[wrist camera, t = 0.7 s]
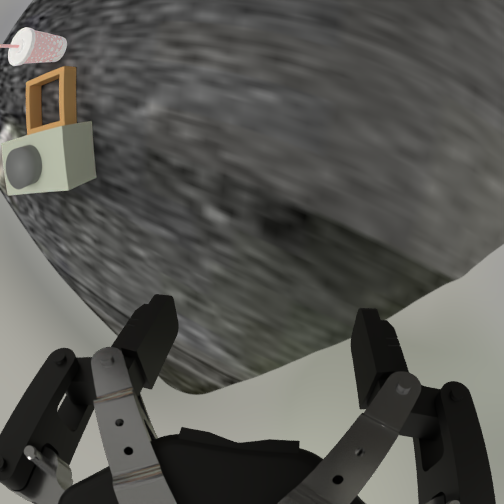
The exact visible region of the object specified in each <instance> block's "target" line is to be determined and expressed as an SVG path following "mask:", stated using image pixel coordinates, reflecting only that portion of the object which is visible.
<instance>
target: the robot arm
mask: <svg viewBox="0 0 504 504" xmlns="http://www.w3.org/2000/svg"><path fill="white" fill-rule="evenodd" d="M177 333H178V319H177V314H176V309H175V303H174V299H173V297H172V296H169V295H159V294H155V295H154V296H153V298H152V299H151V301H150V302H149V304H144V305H142V306H141V307H139V308H138V309H137V310H135V312H134V313H133V315H132V316H131V319H129V321H128V322H127V324H126V326H125V327H124V328H123V330H122V331H121V332H120V334H119V335H118V337H117V339H116V340H115V341H114V343H113V345H112V346H111V347H106V348H102V349H100V350H98V351H97V352H96V353H95V354H94V355H93V357H84V358H76V356H75V354H74V352H73V351H72V350H70V349H68V348H60V349H58V350H55V351H54V352H52V353H51V354H50V355H49V357H48V358H47V360H46V361H45V363H44V364H43V366H42V367H41V368H40V370H39V372H38V373H37V375H36V376H35V378H34V379H33V381H32V382H31V384H30V385H29V387H28V388H27V390H26V392H25V393H24V395H23V397H22V398H21V400H20V401H19V403H18V405H17V406H16V408H15V410H14V411H13V413H12V415H11V416H10V418H9V420H8V422H7V423H6V425H5V427H4V429H3V431H2V433H1V434H0V482H1V483H2V484H3V485H5V486H6V487H7V488H8V489H10V490H11V491H13V492H14V493H16V494H18V495H19V496H21V497H22V498H24V499H25V500H27V501H30V502H32V503H34V504H365V503H364V502H363V501H362V500H361V499H360V498H359V497H358V493H359V492H360V491H361V490H362V488H363V487H364V486H365V484H366V483H367V481H368V480H369V479H370V478H371V476H372V475H373V473H374V472H375V471H376V469H377V468H378V466H379V465H380V463H381V462H382V460H383V459H384V457H385V456H386V454H387V453H388V451H389V450H390V448H391V447H392V445H393V443H394V442H395V440H396V439H397V437H398V435H403V436H408V437H413V442H414V451H415V460H416V470H417V482H418V499H419V504H496V502H495V495H494V489H493V482H492V476H491V471H490V465H489V460H488V456H487V451H486V447H485V442H484V439H483V435H482V431H481V427H480V423H479V420H478V417H477V413H476V410H475V407H474V404H473V400H472V397H471V394H470V392H469V390H468V389H467V387H466V386H464V385H463V384H462V383H459V382H455V381H451V382H448V383H446V384H444V386H443V387H442V388H441V389H435V388H430V387H426V386H422V385H421V384H420V381H419V380H418V378H417V377H415V376H414V375H413V374H411V373H409V371H408V368H407V365H406V362H405V359H404V356H403V353H402V350H401V347H400V343H399V341H398V339H397V335H396V332H395V329H394V328H393V326H392V325H391V324H390V323H389V322H388V321H387V320H380V317H379V314H378V311H377V309H372V308H359V310H358V312H357V316H356V320H355V324H354V328H353V332H352V336H351V352H352V358H353V364H354V371H355V378H356V384H357V392H358V399H359V407H360V409H366V411H365V412H364V413H362V414H361V415H360V416H359V417H358V418H357V420H356V421H355V422H354V423H353V425H352V426H351V427H350V429H349V430H348V431H347V432H346V434H345V435H344V436H343V437H342V438H341V440H340V441H339V442H338V443H337V444H336V446H335V447H334V448H333V449H332V450H331V451H330V452H329V454H328V455H327V456H326V457H325V458H324V459H322V458H320V457H319V456H317V455H316V454H314V453H312V452H310V451H307V450H304V449H300V448H299V441H286V440H270V439H269V440H261V441H254V442H244V443H237V442H233V441H231V440H228V439H225V438H223V437H220V436H217V435H215V434H212V433H210V432H205V431H200V430H194V429H189V428H184V427H182V428H181V431H180V433H179V434H175V435H168V436H163V437H160V438H158V437H157V435H156V433H155V431H154V428H153V426H152V424H151V421H150V418H149V416H148V413H147V411H146V408H145V405H144V403H143V400H142V397H141V395H140V392H141V390H142V388H143V387H144V388H148V389H152V388H153V386H154V384H155V381H156V379H157V377H158V375H159V373H160V370H161V368H162V366H163V364H164V362H165V360H166V358H167V355H168V353H169V351H170V349H171V347H172V345H173V343H174V340H175V338H176V336H177ZM65 393H66V397H65V399H64V401H63V402H62V404H61V406H60V408H59V410H58V412H57V408H58V405H59V403H60V401H61V399H62V398H63V396H64V394H65ZM94 408H95V412H96V417H97V422H98V426H99V430H100V434H101V438H102V442H103V446H104V450H105V453H106V457H107V460H108V463H109V466H108V467H106V468H104V469H103V470H101V471H99V472H97V473H95V474H93V475H92V476H90V477H88V478H86V479H84V480H82V481H80V482H78V483H76V484H74V485H72V484H73V480H72V472H71V469H70V467H69V464H70V462H71V460H72V457H73V455H74V453H75V450H76V448H77V446H78V443H79V441H80V439H81V437H82V434H83V432H84V430H85V428H86V425H87V423H88V421H89V419H90V417H91V414H92V412H93V410H94Z"/></svg>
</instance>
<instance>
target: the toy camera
mask: <svg viewBox="0 0 504 504" xmlns="http://www.w3.org/2000/svg"><path fill="white" fill-rule="evenodd" d="M57 79H59V108H60V121H58V122H54V123H51V124H47V125H43V126H42V108H41V86H42V85H44V84H47V83H49V82H52V81H54V80H57ZM26 120H27V136H23V137H20V138H17V139H14V140H11V141H8V142H5V143H2V144H1V149H2V159H3V167H4V174H5V181H6V187H7V193H8V195H18V194H28V193H40V192H52V191H67V190H71V189H73V188H75V187H77V186H79V185H81V184H84V183H86V182H88V181H90V180H93V179H95V178H97V177H96V168H95V158H94V146H93V131H92V121H89V122H82V123H77V116H76V67H69V66H63V67H61V68H58V69H56V70H53V71H51V72H48V73H46V74H44V75H41V76H39V77H37V78H35V79H32V80H30V81H28V82H26Z"/></svg>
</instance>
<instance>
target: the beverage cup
mask: <svg viewBox="0 0 504 504" xmlns="http://www.w3.org/2000/svg"><path fill="white" fill-rule="evenodd" d="M66 47H67V41H66V39H65V38H63V37H60V36H57V35H53V34H48V33H44V32H40V31H35V30H34V29H32V28H28V27H26V28H22V29H21V30H20V31H19V32H17V34H16V35H15V36H14V38H13V40H12V42H11V44H10V45H9V44H0V48H9V51H8V60H9V63H10V64H11V65H13V66H18V65H22V64H24V63H40V62H56V61H58V60H60V59H61V57H62V56H63V55H64V53H65V51H66Z"/></svg>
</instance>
